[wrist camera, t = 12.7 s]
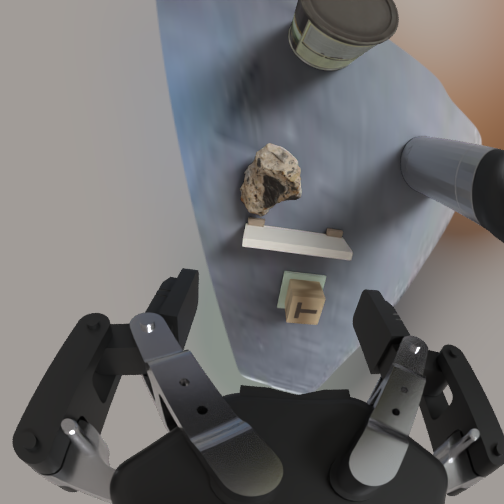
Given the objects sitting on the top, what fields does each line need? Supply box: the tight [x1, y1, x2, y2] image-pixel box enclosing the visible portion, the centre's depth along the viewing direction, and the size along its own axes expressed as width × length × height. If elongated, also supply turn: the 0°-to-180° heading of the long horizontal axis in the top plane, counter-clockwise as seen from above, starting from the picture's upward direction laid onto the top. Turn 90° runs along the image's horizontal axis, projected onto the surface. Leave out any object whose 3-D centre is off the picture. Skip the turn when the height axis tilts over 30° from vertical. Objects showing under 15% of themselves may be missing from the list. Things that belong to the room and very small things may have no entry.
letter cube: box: [285, 279, 325, 325], centre depth 43 cm, size 5×5×5 cm
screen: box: [242, 217, 353, 261], centre depth 38 cm, size 15×3×6 cm, turn 83°
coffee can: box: [289, 0, 399, 70], centre depth 22 cm, size 10×10×14 cm
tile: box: [277, 271, 326, 309], centre depth 45 cm, size 7×7×1 cm
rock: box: [240, 144, 302, 216], centre depth 35 cm, size 9×7×10 cm
